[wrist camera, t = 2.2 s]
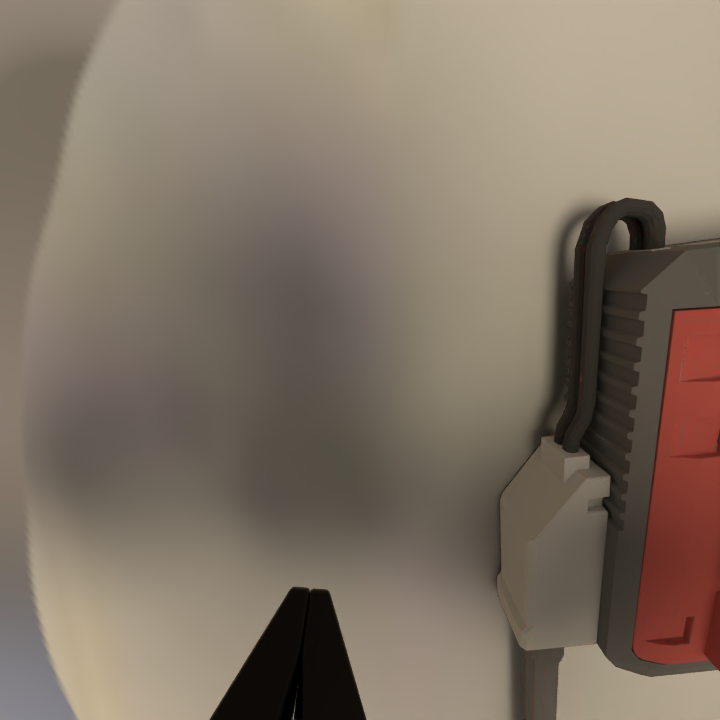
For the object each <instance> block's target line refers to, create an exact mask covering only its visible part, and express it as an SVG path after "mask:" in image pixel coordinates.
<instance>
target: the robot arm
mask: <svg viewBox="0 0 720 720" xmlns="http://www.w3.org/2000/svg"><path fill="white" fill-rule="evenodd" d="M296 694H297V695H296ZM295 701H296V703H295ZM294 708H295V712H294ZM293 714H294V720H366V716H365V713H364V709H363V706H362V702H361V699H360V695H359V692H358V688H357V685H356V682H355V678H354V675H353V671H352V668H351V664H350V661H349V657H348V654H347V650H346V647H345V643H344V640H343V636H342V633H341V630H340V626H339V623H338V619H337V616H336V612H335V609H334V605H333V602H332V598H331V595H330V592H329V591H328V590H326V589H315V588H314V589H312V590H311V591H310V590H309V589H308V588H304V587H292V588H291V589H290V590H289V592H288V594H287V595H286V597H285V598H284V600H283V602H282V603H281V605H280V607H279V608H278V610H277V611H276V613H275V615H274V616H273V618H272V619H271V621H270V623H269V624H268V626H267V628H266V629H265V631H264V632H263V634H262V636H261V637H260V639H259V640H258V642H257V644H256V645H255V647H254V649H253V650H252V652H251V653H250V655H249V657H248V658H247V660H246V661H245V663H244V665H243V666H242V668H241V670H240V671H239V673H238V674H237V676H236V678H235V679H234V681H233V682H232V684H231V686H230V687H229V689H228V691H227V692H226V694H225V695H224V697H223V699H222V700H221V702H220V703H219V705H218V707H217V708H216V710H215V712H214V713H213V715H212V716H211V718H210V720H293Z"/></svg>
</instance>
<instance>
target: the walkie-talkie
mask: <svg viewBox="0 0 720 720" xmlns="http://www.w3.org/2000/svg"><path fill="white" fill-rule="evenodd" d="M618 220H622V221H624V222H625V223H626V224H627V227H628V230H629V233H630V249H629V250H628V251H620V252H613V253H606V246H607V243H608V240H609V237H610V234H611V231H612V229H613V227H614V226H615V224H616V223H617V221H618ZM665 234H666V225H665V221H664V216H663V212H662V211H661V210H660V209H659V208H658V207H657V206H656V205H655V203H654V202H652V201H646V200H639V199H632V198H624V199H622V200H620V201H617V202H615V201H612V202H610V203H607V204H605V205H602V206H600V207H598V208H597V209H596V210H595V211H594V212H593V213H592V214H591V215H590V216H589V217H588V218H587V219H586V221H585V222H584V224H583V227H582V230H581V233H580V236H579V239H578V242H577V245H576V248H575V261H574V279H573V280H572V281H571V282H570V283H569V287H572V299H571V300H569V301H568V307H571V319H570V320H568V321H567V327H570V339H567V343H566V345H567V346H569V347H570V352H569V357H568V358H566V364H567V365H569V375H567V376H565V382H566V383H568V393H566V394H565V395H564V399H565V400H567V405H566V410H565V411H564V414H563V415H562V417H561V419H560V420H559V422H558V424H557V427H556V431H555V435H553V436H545V437H541V444H540V446H539V447H538V448H537V449H536V451H535V452H534V453H533V455H532V456H531V457H530V458H529V460H528V461H527V462H526V463H525V465H524V466H523V467H522V468H521V470H520V471H519V472H518V473H517V475H516V476H515V477H514V479H513V480H512V481H511V482H510V484H509V485H508V486H507V487H506V489H505V490H504V491H503V493H502V496H501V499H500V522H501V572H500V573H499V575H498V576H497V593H498V597H499V599H500V602H501V604H502V606H503V609H504V611H505V613H506V616H507V618H508V620H509V623H510V625H511V627H512V630H513V632H514V634H515V637H516V639H517V641H518V644H519V645H520V647H521V648H523V649H524V661H523V714H524V720H556V708H557V686H558V665H559V662H560V661H561V659H562V657H563V656H564V647H570V646H581V645H591V644H596V643H597V644H598V645H599V647H600V649H601V650H602V652H603V653H604V655H605V656H606V658H607V659H608V660H609V661H611V662H612V663H613V664H614V665H615V666H616V667H618V668H621V669H625V670H628V671H631V672H634V673H637V674H640V675H645V676H649V677H653V676H663V675H673V674H683V673H693V672H703V671H712V670H719V671H720V238H717V239H709V240H702V241H694V242H687V243H680V244H672V245H665Z"/></svg>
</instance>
